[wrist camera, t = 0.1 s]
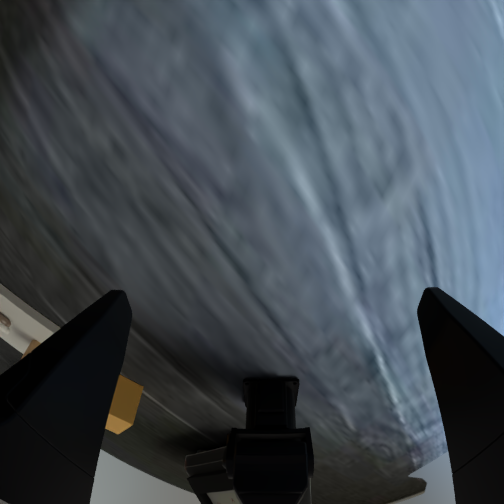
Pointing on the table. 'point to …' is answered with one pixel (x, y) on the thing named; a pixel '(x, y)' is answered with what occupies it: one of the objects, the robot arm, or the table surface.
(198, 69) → the table surface
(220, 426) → the table surface
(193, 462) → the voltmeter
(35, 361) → the robot arm
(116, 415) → the mustard yellow cube
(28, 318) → the plate
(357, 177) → the table surface
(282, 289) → the table surface
